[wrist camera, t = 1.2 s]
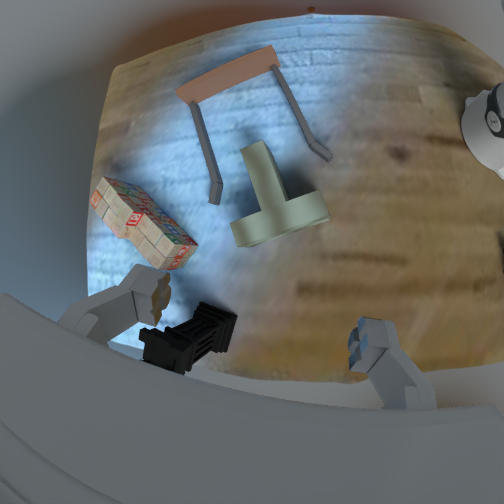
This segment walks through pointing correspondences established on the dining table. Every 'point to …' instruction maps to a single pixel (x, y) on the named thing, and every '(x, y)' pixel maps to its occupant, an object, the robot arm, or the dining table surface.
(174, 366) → the chess piece
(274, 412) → the robot arm
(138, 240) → the stack of blocks
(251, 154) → the T block
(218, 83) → the bay
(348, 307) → the dining table surface
